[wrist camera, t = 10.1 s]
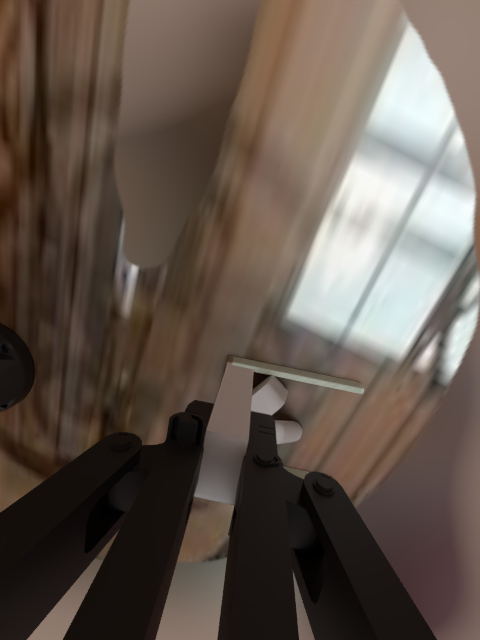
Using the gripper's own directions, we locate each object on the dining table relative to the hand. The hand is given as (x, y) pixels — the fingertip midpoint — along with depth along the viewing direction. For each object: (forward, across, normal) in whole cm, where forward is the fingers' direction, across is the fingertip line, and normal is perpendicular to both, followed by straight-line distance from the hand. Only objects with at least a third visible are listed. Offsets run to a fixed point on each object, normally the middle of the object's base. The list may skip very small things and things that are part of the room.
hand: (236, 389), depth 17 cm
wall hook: (+29, +6, -15) cm, 33 cm away
